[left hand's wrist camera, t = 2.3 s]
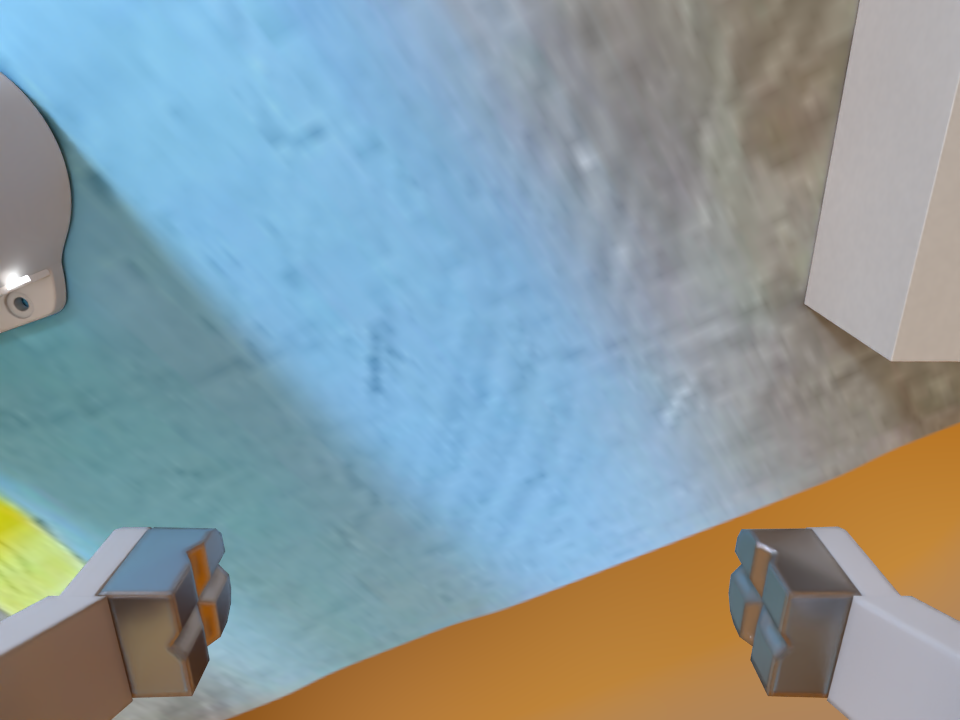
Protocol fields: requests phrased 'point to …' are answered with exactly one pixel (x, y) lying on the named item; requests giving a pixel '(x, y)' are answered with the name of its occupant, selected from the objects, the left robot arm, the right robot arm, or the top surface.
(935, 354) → the bar
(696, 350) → the top surface
